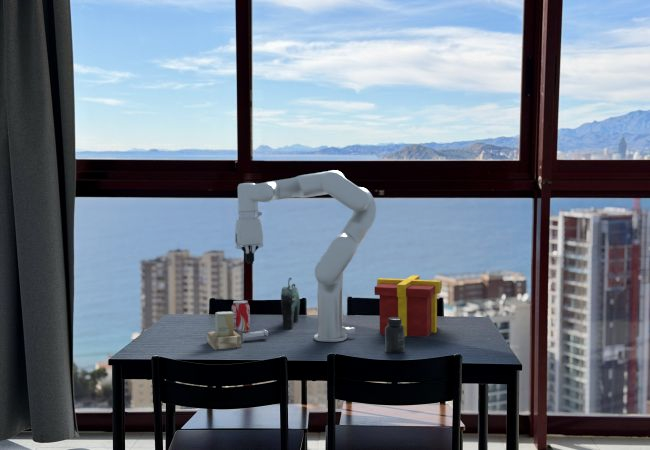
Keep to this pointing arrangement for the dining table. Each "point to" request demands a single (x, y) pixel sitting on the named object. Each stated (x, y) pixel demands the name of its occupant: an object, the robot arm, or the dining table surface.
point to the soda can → (241, 315)
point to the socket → (223, 341)
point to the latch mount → (240, 334)
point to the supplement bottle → (394, 336)
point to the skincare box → (224, 324)
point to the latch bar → (256, 333)
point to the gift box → (409, 304)
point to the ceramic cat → (290, 305)
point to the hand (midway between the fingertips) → (250, 263)
